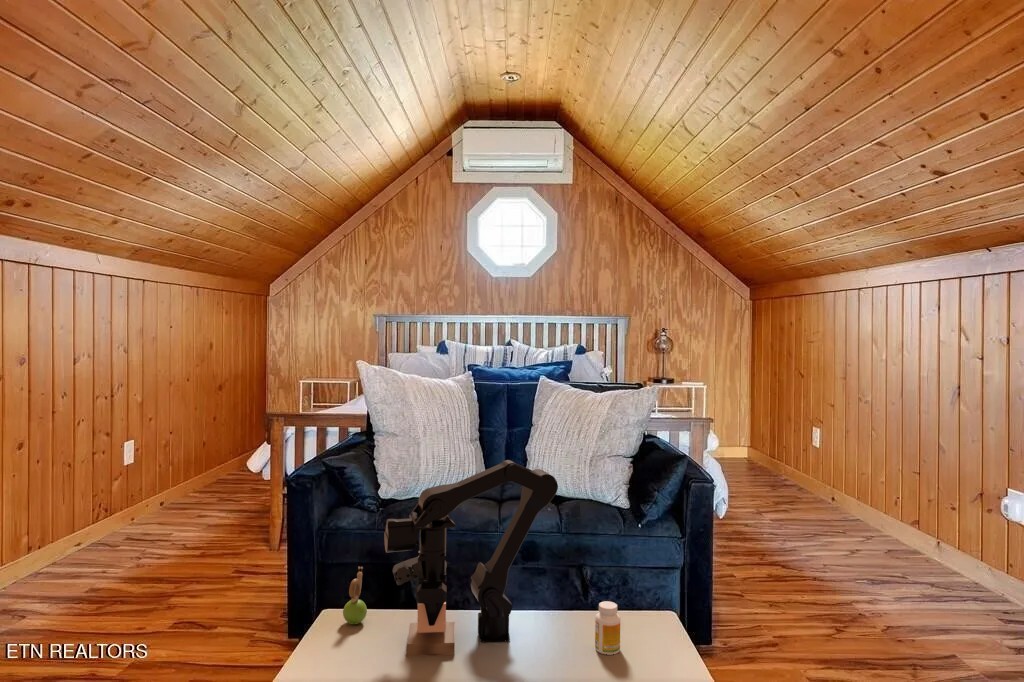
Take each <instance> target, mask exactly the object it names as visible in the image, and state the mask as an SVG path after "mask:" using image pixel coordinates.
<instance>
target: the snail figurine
mask: <svg viewBox="0 0 1024 682" xmlns="http://www.w3.org/2000/svg"><path fill="white" fill-rule="evenodd" d="M357 569H358V570H360V569H361V570H363V569H364V567H363V566H358V567H357ZM362 583H363V571H358V572H357V573H356V578H354V579H352V580H351V582H350V585H349V589H348V595H349V597H350V598H351V599H350V600H349V601H347V603H345V605H344V607H343V609H342V614H343V615H342V616H343V619H344V620H345V621H346V622H347V623H349V624H351V625H358V624H360V623H362V622H363V621H364V620H365V619H366V616H367V614H368V608H367V605H366V603H365V602H364V601H363V600H362V599H359V598H360V596H361V593H362V592H361V590H362Z"/></svg>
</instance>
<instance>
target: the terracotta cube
mask: <svg viewBox="0 0 1024 682" xmlns="http://www.w3.org/2000/svg"><path fill="white" fill-rule="evenodd" d="M416 621H417V622H416V623H417V633H425V632H446V622H447V601H446V602H445V603H444V604H443V606H442V608H441V611H440V613H439V615H438V618H437V620H436V622H435V625H434V626H429V623H428V618H427V613H426V609H425V605H424V604H419V603H417V620H416Z"/></svg>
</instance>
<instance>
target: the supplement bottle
mask: <svg viewBox="0 0 1024 682" xmlns="http://www.w3.org/2000/svg"><path fill="white" fill-rule="evenodd" d="M594 618H595V619H594V620H595V621H594V622H595V625H594V626H595V627H594V648H595V651H597V652H598V653H600V654H602V655H606V654H607V656H610V655H611V656H613V654H614V655H617V654H618V653H619V652H620V651H621V616H620V615H619V614H618V604H617V603H615V602H613V601H610V600H609V601H608V600H607V601H601V602H599V603H598V612H597V613H596V614H595V617H594Z"/></svg>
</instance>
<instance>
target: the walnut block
mask: <svg viewBox="0 0 1024 682" xmlns="http://www.w3.org/2000/svg"><path fill="white" fill-rule="evenodd" d="M455 624H456V622H455V621H446V632H425V633H417V622H410V623H409V629H408V634H407V641H406V657H429V656H431V657H432V656H433V657H434V656H455V647H456V646H455V642H456V641H455V639H456V638H455V637H456V636H455V635H456V634H455V631H456V630H455V629H456V628H455Z"/></svg>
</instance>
